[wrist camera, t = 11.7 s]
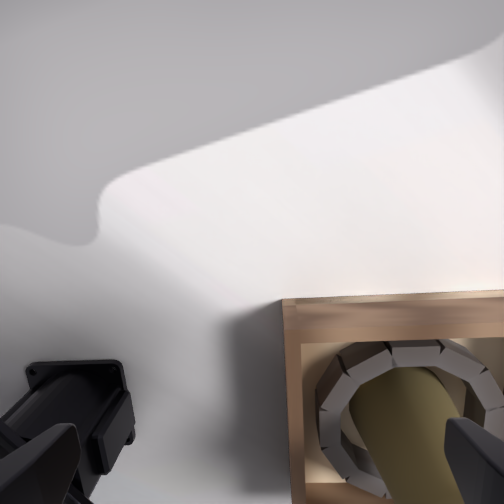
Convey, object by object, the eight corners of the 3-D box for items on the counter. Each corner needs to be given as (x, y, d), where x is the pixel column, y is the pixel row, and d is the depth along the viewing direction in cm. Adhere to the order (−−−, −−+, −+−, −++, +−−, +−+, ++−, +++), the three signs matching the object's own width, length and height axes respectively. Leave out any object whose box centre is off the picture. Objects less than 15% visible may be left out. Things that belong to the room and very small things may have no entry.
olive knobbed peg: (461, 421, 22) (643, 670, 11) (372, 455, 23) (462, 714, 12) (424, 345, 21) (588, 544, 10) (332, 385, 22) (392, 605, 11)
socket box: (290, 478, 25) (294, 537, 21) (281, 299, 21) (284, 330, 17) (492, 477, 24) (534, 538, 20) (518, 289, 20) (577, 319, 17)
